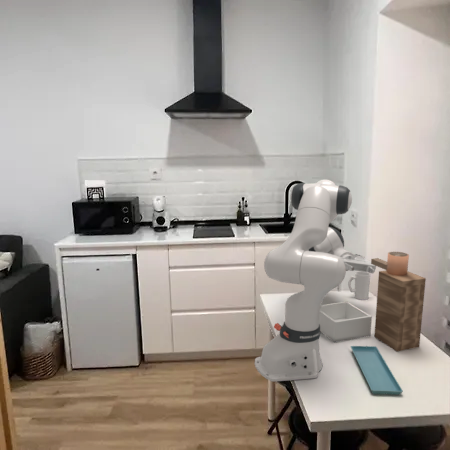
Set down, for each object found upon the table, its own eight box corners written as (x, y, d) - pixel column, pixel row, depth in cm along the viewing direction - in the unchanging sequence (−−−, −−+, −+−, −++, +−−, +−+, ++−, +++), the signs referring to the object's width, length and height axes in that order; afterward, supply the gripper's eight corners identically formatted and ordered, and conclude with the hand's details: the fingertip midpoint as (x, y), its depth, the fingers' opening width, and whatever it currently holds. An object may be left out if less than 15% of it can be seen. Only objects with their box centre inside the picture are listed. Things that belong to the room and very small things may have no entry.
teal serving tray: (403, 397, 120) (403, 390, 120) (371, 396, 121) (371, 389, 120) (376, 352, 146) (376, 346, 145) (349, 352, 146) (350, 345, 146)
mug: (365, 294, 199) (367, 271, 197) (371, 300, 193) (372, 275, 190) (345, 295, 199) (346, 271, 197) (349, 300, 192) (351, 276, 190)
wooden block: (396, 351, 145) (402, 281, 140) (374, 336, 157) (379, 271, 151) (419, 347, 149) (425, 278, 143) (395, 332, 160) (401, 268, 155)
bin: (334, 342, 152) (335, 322, 151) (311, 324, 167) (312, 306, 165) (370, 336, 157) (371, 316, 156) (345, 319, 172) (346, 301, 170)
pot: (411, 274, 148) (413, 255, 146) (395, 276, 145) (397, 257, 144) (381, 262, 162) (382, 245, 161) (366, 264, 160) (367, 246, 159)
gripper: (325, 250, 177) (342, 259, 164) (366, 256, 183) (385, 265, 170) (322, 264, 178) (338, 274, 165) (362, 269, 184) (381, 280, 171)
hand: (362, 270), depth 168 cm, fingers open, 8 cm apart
